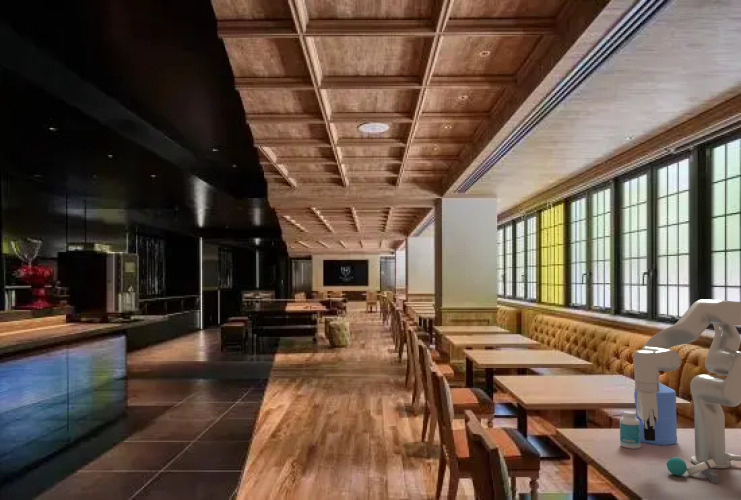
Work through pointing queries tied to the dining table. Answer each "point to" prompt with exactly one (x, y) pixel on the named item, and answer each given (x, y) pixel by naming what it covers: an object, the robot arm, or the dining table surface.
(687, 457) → the dining table surface
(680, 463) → the ball
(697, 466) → the pin
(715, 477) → the grey block
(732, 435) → the dining table surface
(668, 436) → the water jug
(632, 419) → the pill bottle
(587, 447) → the dining table surface
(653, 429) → the robot arm
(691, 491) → the dining table surface
